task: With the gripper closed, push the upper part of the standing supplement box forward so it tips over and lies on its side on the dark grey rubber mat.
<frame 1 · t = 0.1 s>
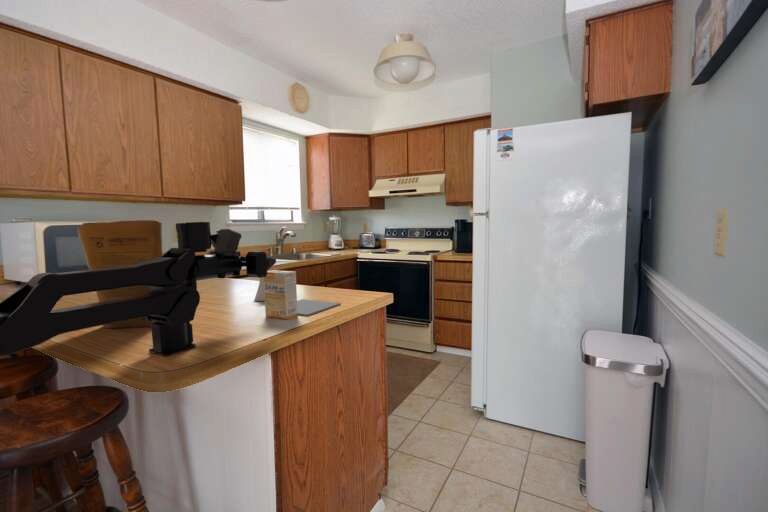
hand: (263, 260, 94), 17 cm above the countertop, tool horizontal, fingers open, 9 cm apart
supplement box: (281, 317, 99), on the countertop
pancake mix bag: (132, 327, 92), on the countertop
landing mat: (305, 307, 109), on the countertop
flask: (265, 300, 123), on the countertop
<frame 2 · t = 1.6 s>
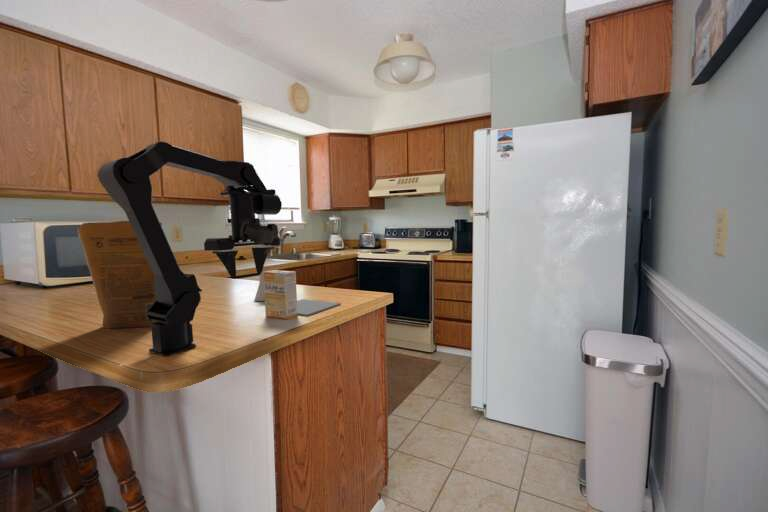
hand: (247, 276, 88), 13 cm above the countertop, tool pointing down, fingers open, 8 cm apart
nothing on the countertop moved.
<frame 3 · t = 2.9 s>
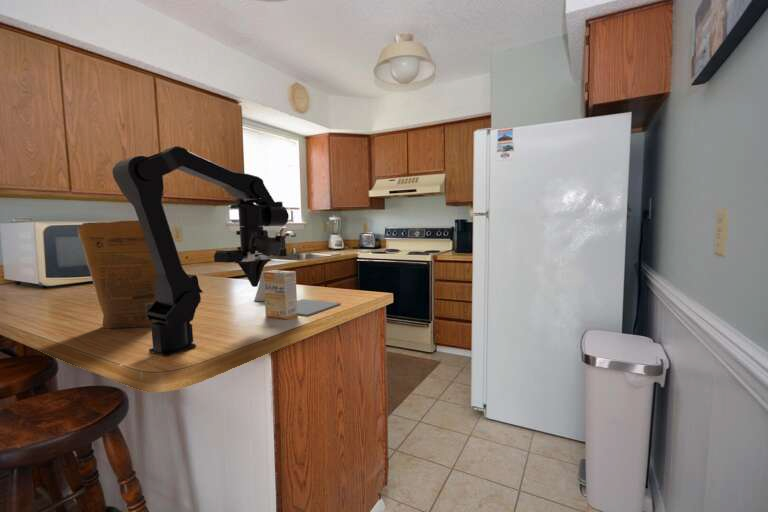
hand: (254, 286, 90), 10 cm above the countertop, tool pointing down, fingers closed
nothing on the countertop moved.
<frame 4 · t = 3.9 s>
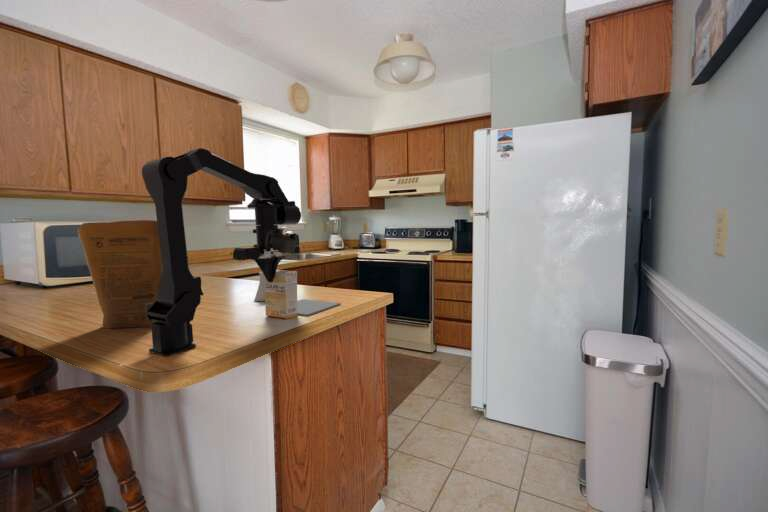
hand: (270, 282, 95), 10 cm above the countertop, tool pointing down, fingers closed
supplement box: (281, 316, 99), on the countertop, touching gripper
everything else where it was.
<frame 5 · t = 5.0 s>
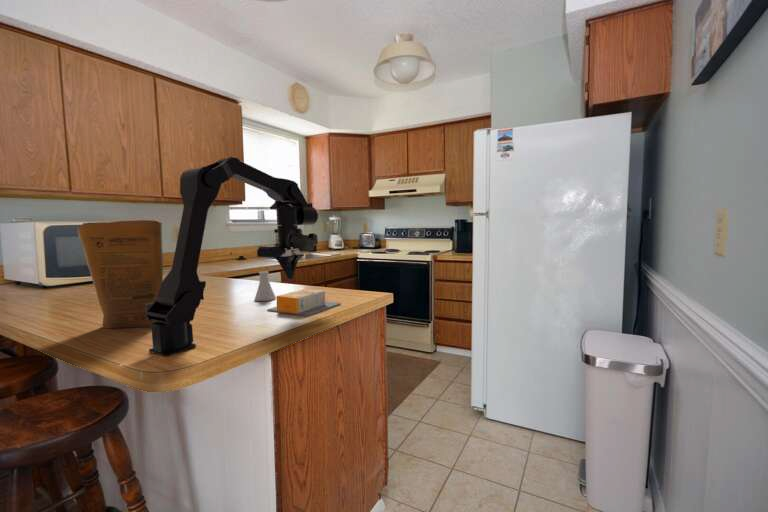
hand: (290, 278, 101), 10 cm above the countertop, tool pointing down, fingers closed
supplement box: (286, 304, 100), point 3 cm above the countertop, touching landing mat
everything else where it was.
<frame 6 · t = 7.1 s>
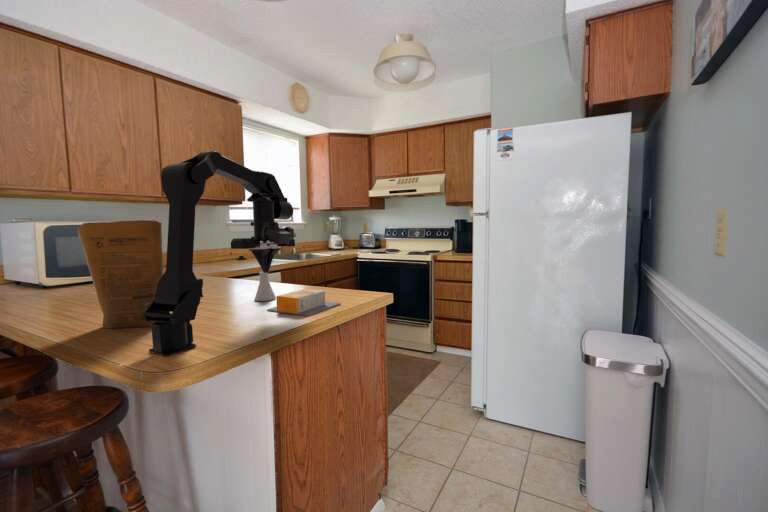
hand: (266, 272, 100), 12 cm above the countertop, tool pointing down, fingers closed
nothing on the countertop moved.
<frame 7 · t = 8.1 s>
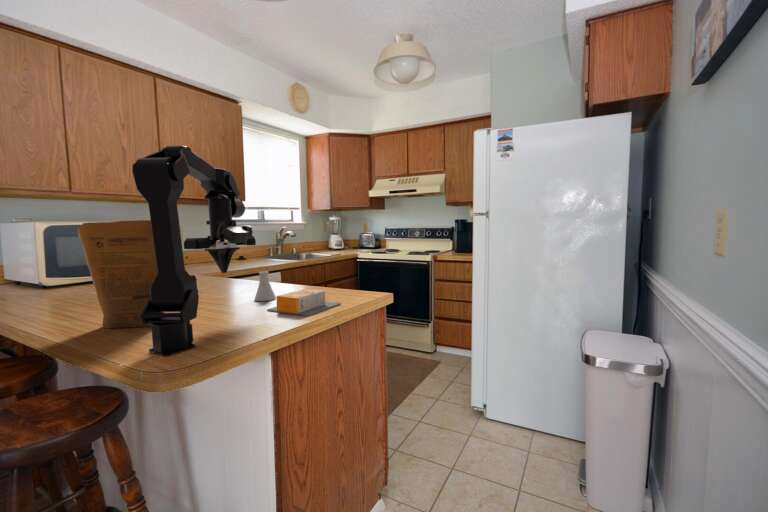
hand: (224, 272, 97), 13 cm above the countertop, tool pointing down, fingers closed
nothing on the countertop moved.
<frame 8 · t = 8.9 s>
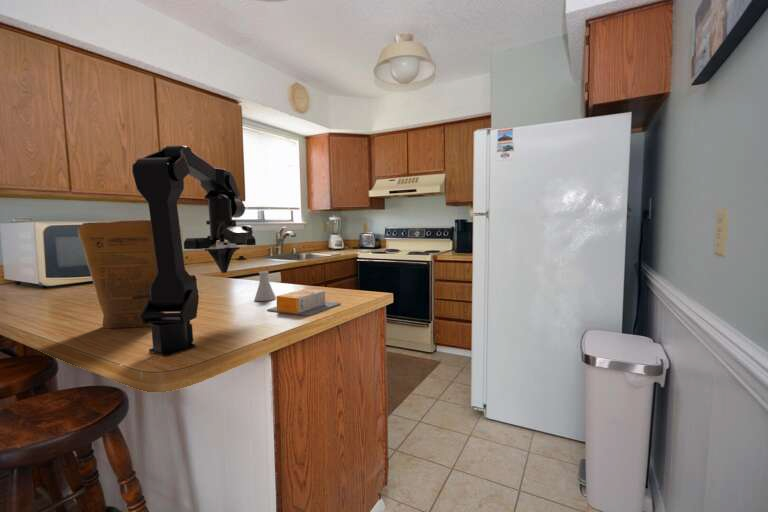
hand: (224, 272, 97), 13 cm above the countertop, tool pointing down, fingers closed
nothing on the countertop moved.
at the end: supplement box tilted 90°; supplement box touching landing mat; the gripper is holding nothing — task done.
